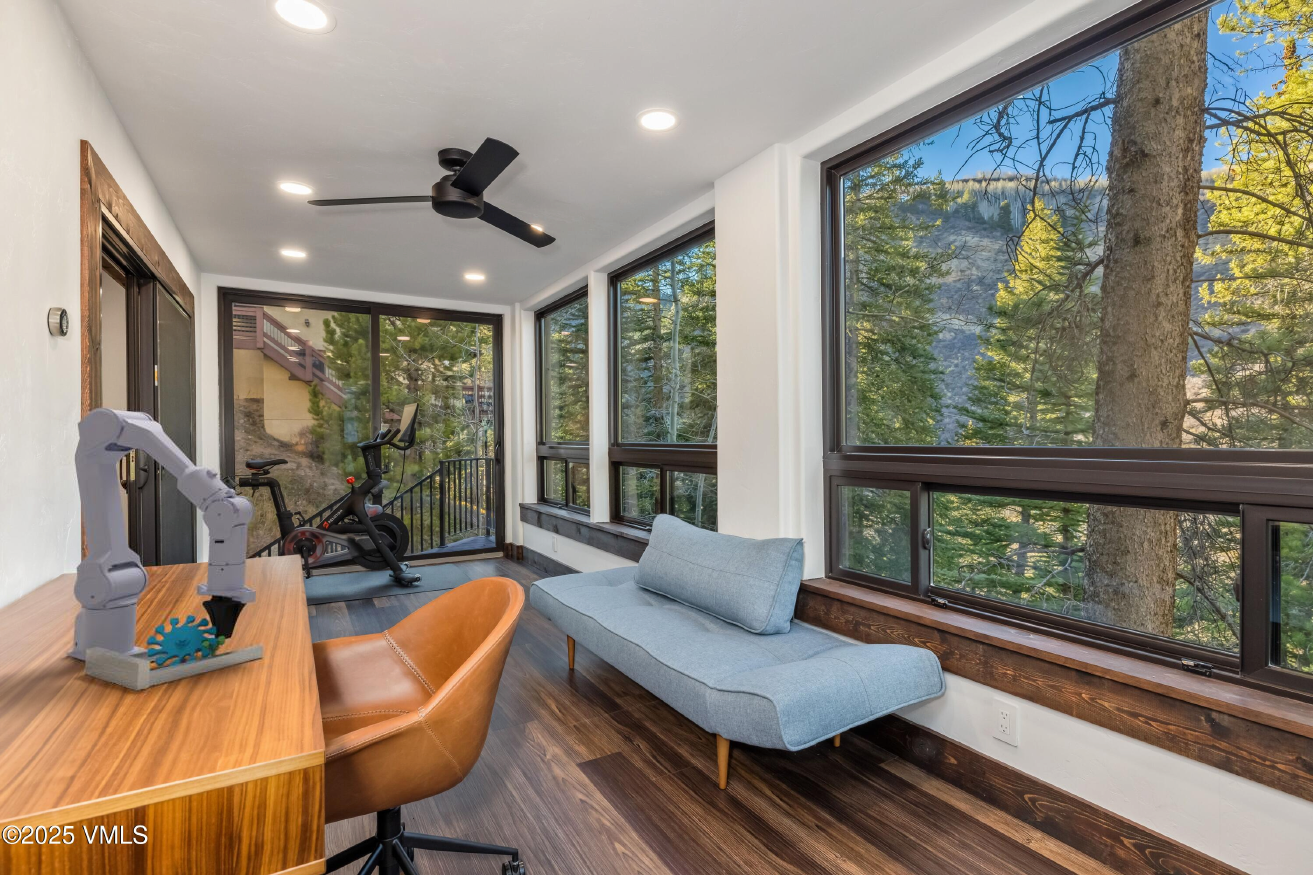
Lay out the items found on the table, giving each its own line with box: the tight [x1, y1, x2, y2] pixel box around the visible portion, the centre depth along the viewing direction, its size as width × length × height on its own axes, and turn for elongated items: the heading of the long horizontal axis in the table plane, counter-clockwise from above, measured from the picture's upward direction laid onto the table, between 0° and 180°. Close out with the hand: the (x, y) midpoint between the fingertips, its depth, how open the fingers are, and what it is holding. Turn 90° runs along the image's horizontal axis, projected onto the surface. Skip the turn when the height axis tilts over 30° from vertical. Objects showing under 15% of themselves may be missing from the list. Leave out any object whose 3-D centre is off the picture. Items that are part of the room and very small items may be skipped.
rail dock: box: [84, 635, 264, 692], centre depth 109 cm, size 16×20×4 cm
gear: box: [146, 614, 226, 667], centre depth 111 cm, size 11×6×10 cm
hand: (223, 638), depth 116 cm, fingers closed
